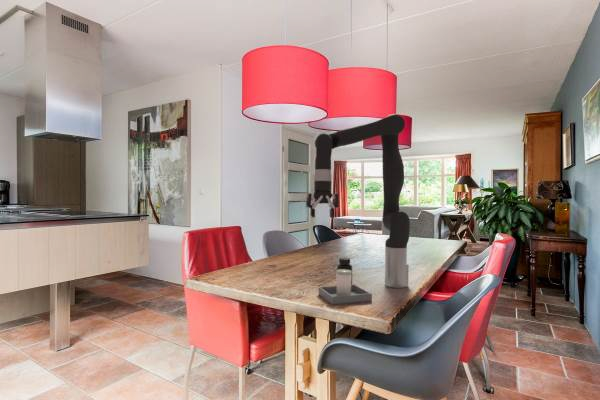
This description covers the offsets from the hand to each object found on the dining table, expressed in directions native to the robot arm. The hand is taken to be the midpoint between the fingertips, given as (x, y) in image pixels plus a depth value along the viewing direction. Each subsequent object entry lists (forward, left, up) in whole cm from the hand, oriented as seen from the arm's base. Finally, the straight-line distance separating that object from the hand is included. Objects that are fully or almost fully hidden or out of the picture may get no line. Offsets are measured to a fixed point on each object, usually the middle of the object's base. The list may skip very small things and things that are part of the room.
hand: (322, 217), depth 151 cm
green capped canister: (-2, +19, -30) cm, 35 cm away
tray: (-2, +19, -30) cm, 36 cm away
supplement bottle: (-10, +2, -30) cm, 32 cm away
